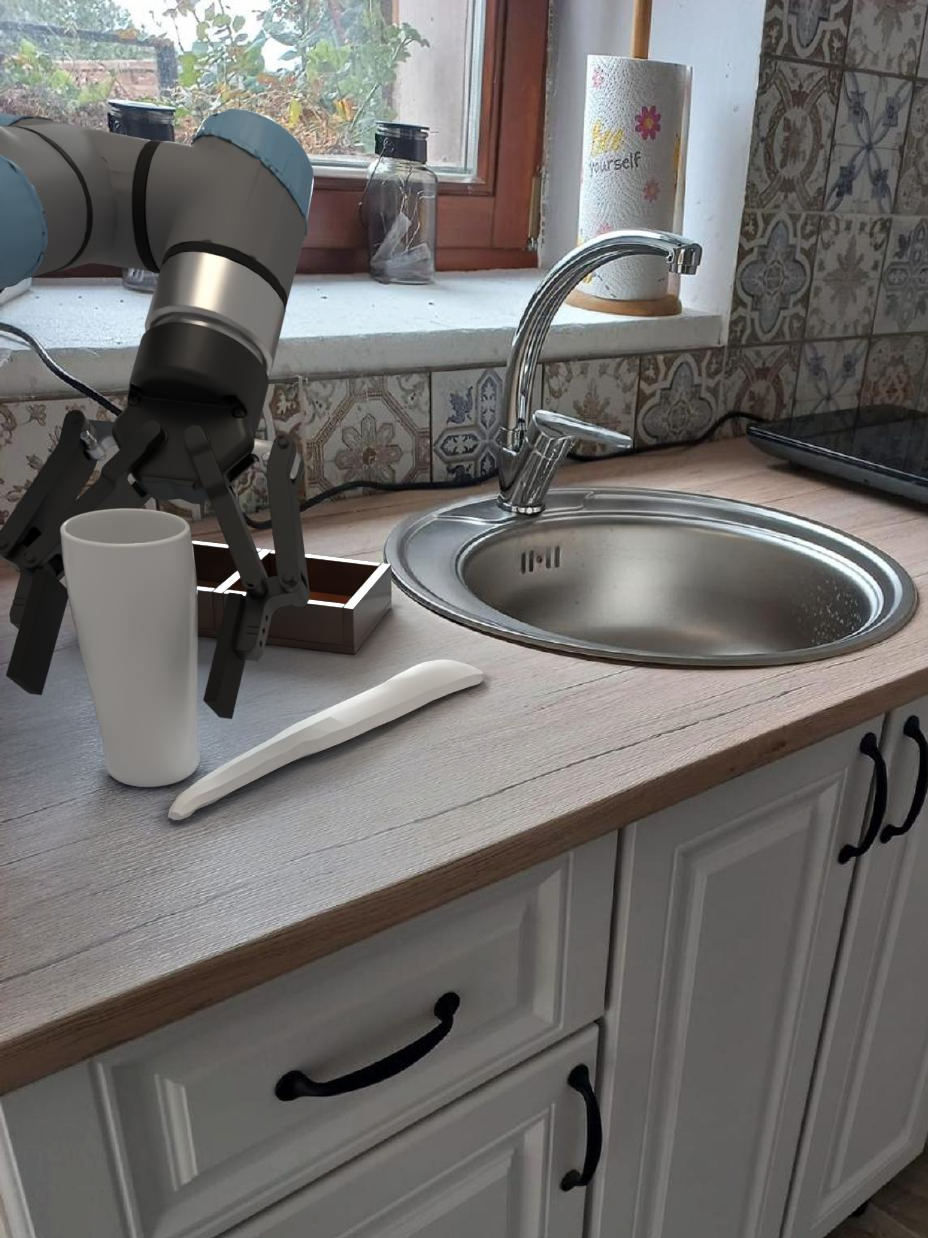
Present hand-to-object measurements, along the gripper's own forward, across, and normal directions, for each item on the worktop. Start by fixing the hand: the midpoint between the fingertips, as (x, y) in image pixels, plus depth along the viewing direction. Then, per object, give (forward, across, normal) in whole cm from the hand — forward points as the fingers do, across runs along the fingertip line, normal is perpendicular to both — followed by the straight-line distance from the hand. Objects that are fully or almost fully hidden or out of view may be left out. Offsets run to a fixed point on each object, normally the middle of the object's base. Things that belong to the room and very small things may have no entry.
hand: (120, 697), depth 69 cm
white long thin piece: (-3, -9, -12) cm, 15 cm away
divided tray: (-16, +4, -25) cm, 30 cm away
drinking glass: (+2, 0, -6) cm, 7 cm away
